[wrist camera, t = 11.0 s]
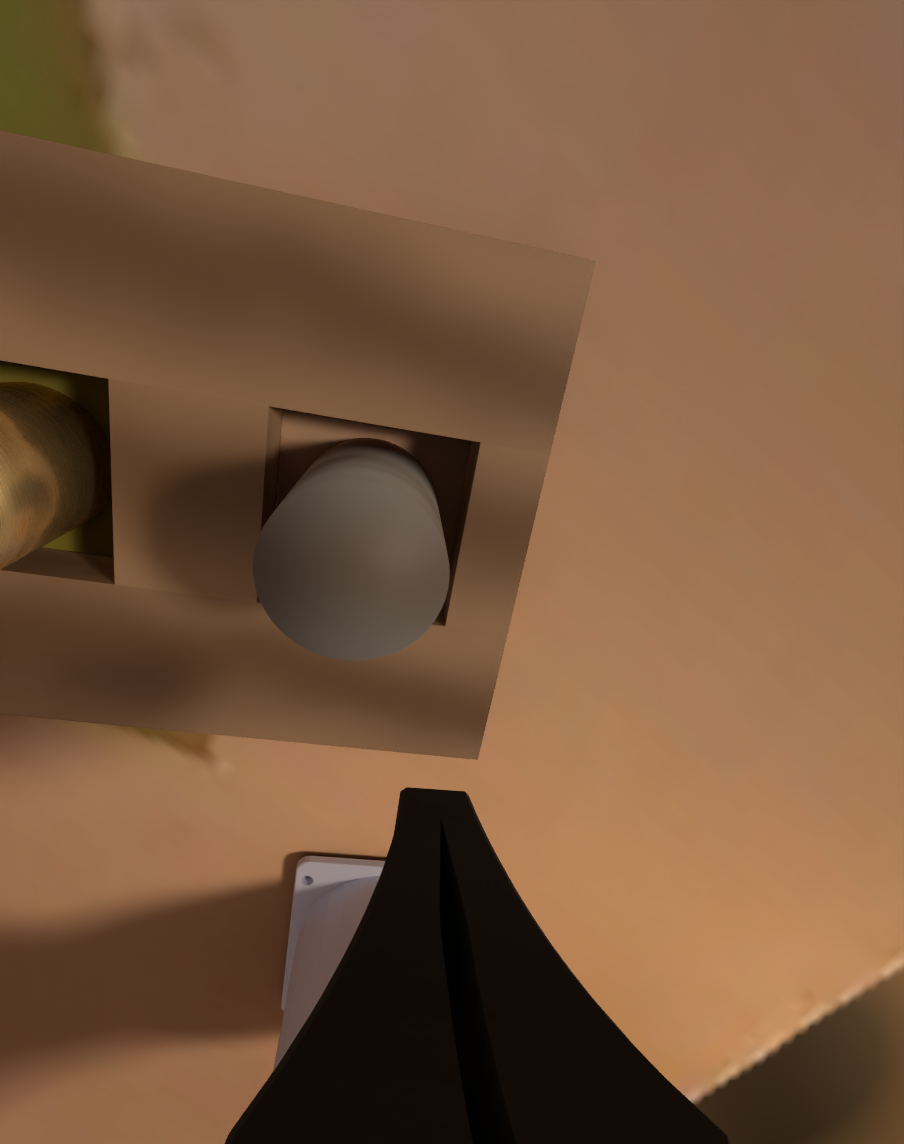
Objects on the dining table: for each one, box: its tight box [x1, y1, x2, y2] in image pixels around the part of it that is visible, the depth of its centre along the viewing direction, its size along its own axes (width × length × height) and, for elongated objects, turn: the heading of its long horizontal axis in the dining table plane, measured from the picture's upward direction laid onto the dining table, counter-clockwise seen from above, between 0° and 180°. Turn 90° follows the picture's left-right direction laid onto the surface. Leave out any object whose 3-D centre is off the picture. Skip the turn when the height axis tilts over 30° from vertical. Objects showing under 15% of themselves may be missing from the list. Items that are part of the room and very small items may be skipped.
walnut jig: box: [0, 130, 595, 760], centre depth 15 cm, size 16×20×6 cm
